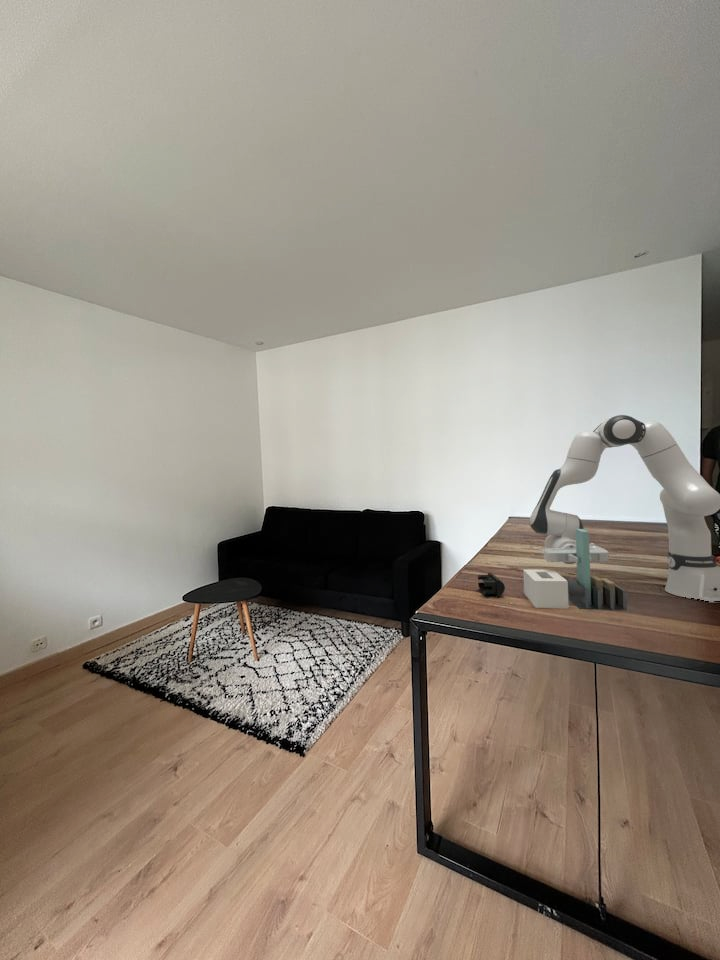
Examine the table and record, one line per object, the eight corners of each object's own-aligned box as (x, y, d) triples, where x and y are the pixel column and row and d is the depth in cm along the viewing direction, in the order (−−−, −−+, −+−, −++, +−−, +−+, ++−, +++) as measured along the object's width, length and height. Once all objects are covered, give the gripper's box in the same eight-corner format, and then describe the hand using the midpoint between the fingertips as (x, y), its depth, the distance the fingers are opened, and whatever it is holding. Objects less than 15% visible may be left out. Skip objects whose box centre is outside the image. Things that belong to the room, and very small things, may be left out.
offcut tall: (594, 598, 125) (594, 575, 125) (603, 604, 119) (602, 580, 119) (589, 598, 125) (588, 575, 125) (597, 604, 120) (596, 580, 119)
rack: (611, 597, 128) (610, 577, 128) (635, 614, 114) (634, 591, 113) (562, 596, 131) (561, 576, 131) (579, 612, 116) (578, 590, 116)
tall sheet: (583, 598, 126) (581, 528, 125) (591, 604, 120) (588, 531, 119) (577, 597, 126) (575, 528, 126) (585, 604, 120) (582, 531, 120)
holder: (553, 597, 131) (552, 569, 131) (568, 611, 117) (567, 581, 117) (524, 596, 133) (523, 569, 133) (535, 611, 119) (534, 580, 119)
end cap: (505, 598, 133) (504, 579, 133) (485, 598, 133) (485, 580, 133) (496, 589, 143) (495, 572, 143) (478, 589, 143) (477, 572, 143)
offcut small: (606, 598, 124) (605, 578, 124) (615, 604, 119) (614, 583, 118) (600, 598, 125) (599, 578, 125) (609, 604, 119) (608, 583, 119)
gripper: (537, 543, 137) (550, 551, 124) (597, 542, 134) (617, 550, 120) (538, 559, 137) (551, 569, 124) (598, 559, 134) (617, 569, 120)
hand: (584, 560), depth 122 cm, fingers closed on tall sheet, 2 cm apart
